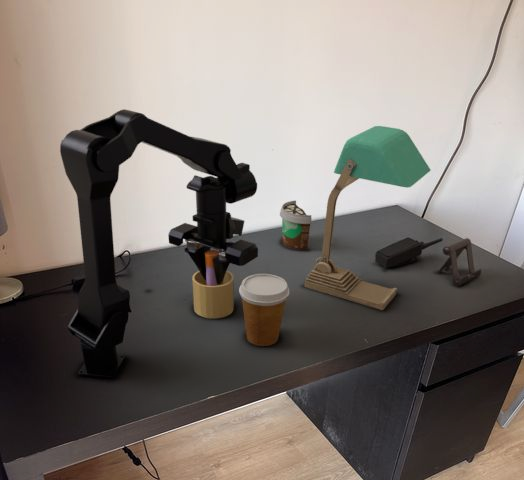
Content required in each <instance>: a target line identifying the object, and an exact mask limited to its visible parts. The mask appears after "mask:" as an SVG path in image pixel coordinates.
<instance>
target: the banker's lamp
mask: <svg viewBox="0 0 524 480" xmlns="http://www.w3.org/2000/svg"><path fill="white" fill-rule="evenodd" d="M430 172H431V168H430V166H429V164H428V163H427V162H426V159H424V157H423V155H422V154H421V152H420V151H419V149H418V147H417V146H416V144H415V143H414V141H413V140H412V138H411V136H410V135H409V134H408V132H407V131H405V130H403V129H400V128H396V127H390V126H385V125H384V126H383V125H375V126H372V127H370V128H369V129H366V130H364V131H362V132H360V133H358V134H355V135H354V136H352V137H350V138H349V139H347V140H346V141H345V143H344V144H343V147H342V149H341V152H340V154H339V157H338V160H337V162H336V165H335V168H334V170H333V173H334V174H335V175H339V177H338V179H337V181H336V183H335V185H334V187H333V188H332V190H331V191H330V193H329V195H328V198H327V203H326V204H327V205H326V211H325V212H326V213H325V222H324V232H323V240H322V241H323V242H322V250H321V257H318V258H316V261H315V263H316V264H315V265H314V266H313V269H312V270H310V272H309V274H308V276H307V277H306V278H305V281H304V288H307V289H310V290H312V291H313V290H314V291H316V292H319V293H323V294H326V295H330V296H334V297H336V298H340V299H344V300H347V301H351V302H353V303H357V304H360V305H363V306H367V307H370V308H374V309H377V310H380V311H384V310H385V308H386V307H387V306H388V305H389V304H390V303H391V301H393V299H394V297H396V295H397V290H398V288H397V287H393V288H389V287H386V286H382V285H378V284H375V283H371V282H367V281H364V280H362V279H361V278H359V276H356V274H354V272H352V271H351V270H349V269H346V268H342V267H338V266H337V265H336V262H335V261H334V260H333V259H331V252H332V250H331V249H332V244H333V243H332V242H333V234H334V233H333V231H334V223H335V216H336V215H335V214H336V208H337V207H336V206H337V201H338V198H339V196H340V194H341V193H342V191H344V189H345V188H346V187H348V186H350V185H351V184H353V183H355V182H356V181H357V180H359V179H361V180H366V181H371V182H375V183H380V184H381V183H382V184H385V185H392V186H396V187H400V188H401V187H402V188H411V187H413V186H414V185H415V184H416V183H418V182H419V181H421V179H422V178H424V177H425V176H426V175H427V174H429V173H430ZM319 260H320V261H319Z"/></svg>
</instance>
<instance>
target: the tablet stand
mask: <svg viewBox="0 0 524 480" xmlns="http://www.w3.org/2000/svg"><path fill="white" fill-rule="evenodd" d="M464 250H465V251H466V257H467V264H468V274H467V275H465V276H462V277H460V274H459V266H458V258H459V257H460V255H461V254H462V253H463V252H464ZM442 253H443V255H444V256H449V257H448V258H447V259H446V261H445V262H444V263H443V264H442V266H441V267H440V268H439V269H438V271H437V274H440V273H441V272H443V270H445V271H446V270H448V269H450V268H451V272H452V279H453V285H455V286H456V287H460V286H462V285H464V284H466V283H468V282H470V281H472V280H474V279H476V278H478V277H480V276H481V275H482V269H481V268H480V269H479V268H478V269H477V270H476V269H475V265H474V264H475V263H474V255H473V247H472V240H471V239H470V238H469V237H466V238H463V239H461V240H458V241H455V242H453V243H450V244H449V245H446V246H444V247H443V248H442Z"/></svg>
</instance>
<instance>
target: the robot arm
mask: <svg viewBox="0 0 524 480" xmlns="http://www.w3.org/2000/svg"><path fill="white" fill-rule="evenodd" d="M141 143H142V144H144V145H146V146H149V147H153V148H155V149H158V150H160V151H163V152H165V153H167V154H170V155H173V156H175V157H177V158H178V159H180V160H181V161H182V163H183V164H185V165H186V166H188V167H189V168H191V169H192V170H193V171H197V172H200V173H203V174H206V175H207V176H204V177H202V176H199V175H196V174H195V175H193V177H192V179H191V180H190V181H189V182H188V183H187V184H186V189H187V190H190V191H193V192H195V206H196V207H195V208H196V213H195V214H193V215H192V222H196V225H194V224H190V223H187V222H184V223H181V224H180V225H177V226H175V227H172V228H171V229H170V230H169V231H168V234H167V235H168V244H169V245H173V246H177V247H180V246H182V245H183V244H184V243H186V247H185V248H184V249H183V250H184V252H185V253H187V254H188V255H189V257H190V259H191V260H192V262H193V264H194V265H195V266H196V268H197V270H198V271H200V273H201V275H202V276H203V278H204V280H206V264H205V252H206V251H208V250H217V251H219V255H218V256H217V257H215V258H213V259H212V260H213V265H214V271H215V276H216V281H217V284H218V285H220V284H221V283H222V282H223V279H224V276H225V274H226V271H228V268H229V267H230V264H232V265H234V266H238V267H244V266H245V265H247V264H248V263H250V262H252V261H254V260H255V259H256V258H258V257H259V247H258V245H257V244H256V243H254V242H251V241H247V240H244V239H239V240H237V241H235V242H232V241H227V240H231V239H233V238H234V235H236V236H240V237H242V235H243V230H244V225H245V220H244V219H240V218H237V217H233V216H232V214H231V212H228V211H227V204H228V205H229V204H231V205H232V204H235V203H237V202H240V201H243V200H246V199H248V198H252V197H253V196H255V194H256V193H257V190H258V183H257V179H256V176H255V175H254V173H253V172H252V171H251V170H250V169H251V167H250V166H251V165H250V164H248V163H245V162H240V163H236V161H235V160H234V158H233V157H232V153H231V151H232V149H231V148H230V147H229V146H228V145H227V144H225V143H220V142H217V141H213V140H209V139H206V138H202V137H195V136H191V135H190V136H189V135H187V134H185V133H183V132H180V131H178V130H176V129H173V128H172V127H170V126H167V125H165V124H162V123H161V122H158V121H156V120H154V119H152V118H150V117H147V116H146V115H145V114H144V113H141V112H137V111H133V110H130V109H125V108H124V109H120V110H118V111H116V112H115V113H113V114H111V115H110V116H108V117H106V118H103V119H100V120H97V121H95V122H92V123H89V124H87V125H85V126H84V127H82V128H80V129H74V130H71V131H69V132H68V133H67V134H66V135H65V137H64V138H63V139H62V140H61V141H60V147H59V152H60V156H61V161H62V164H63V169H64V172H65V175H66V177H67V179H68V181H69V182H70V184H71V186H72V188H73V190H74V192H75V194H76V198H77V199H76V200H77V209H78V210H77V211H78V217H79V219H78V220H79V228H80V230H79V231H80V241H81V249H82V259H83V269H84V283H83V285H82V286H81V288H80V290H79V293H78V302H77V310H76V311H75V312H74V314H73V316H72V318H71V320H70V321H69V323H68V324H67V327H66V329H68V331H69V332H70V334H71V335H72V336H74V337H76V338H77V339H79V340H80V347H81V351H82V357H83V362H84V363H83V364H82V366H81V368H80V369H79V370H78V375H79V376H81V377H90V378H99V379H100V378H101V379H110V380H111V379H115V377H116V375H117V373H118V372H119V370H120V368H121V366H122V365H123V364H124V361H125V359H126V357H125V355H122V354H118V353H117V346H119V345H120V344H122V343H123V342H124V337H125V331H126V326H127V324H128V321H129V314H130V313H132V309H131V306H130V299H131V298H130V297H131V295H130V291H129V290H128V289H126V288H124V287H123V286H121V285H119V284H118V282H117V279H116V265H115V264H116V263H115V248H114V247H115V246H114V232H113V222H112V221H113V219H112V218H113V217H112V204H111V203H112V202H111V196H112V193H113V192H114V189H115V187H116V185H117V184H118V181H119V176H120V166H121V165H122V164H123V163H125V162H127V161H128V160H129V159H131V157H133V154H134V152H135V151H136V149H137V148H138V146H139V145H140V144H141Z"/></svg>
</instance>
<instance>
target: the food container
mask: <svg viewBox="0 0 524 480" xmlns="http://www.w3.org/2000/svg"><path fill="white" fill-rule="evenodd" d="M279 216H280V218H281V226H282V227H281V229H282V230H281V231H282V232H281V233H282V245H283V246H284V247H285V248H287V249H290V250H293V251H307V250H308V246H309V245H308V244H309V238H310V230H311V224H312V215H311V214H307V213H306V212H305V210H304V209H303V208H301V207H299V206H298V204H297V200H290V201H286V202H285V203H283V204H282V206H281V208H280V211H279Z"/></svg>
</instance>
